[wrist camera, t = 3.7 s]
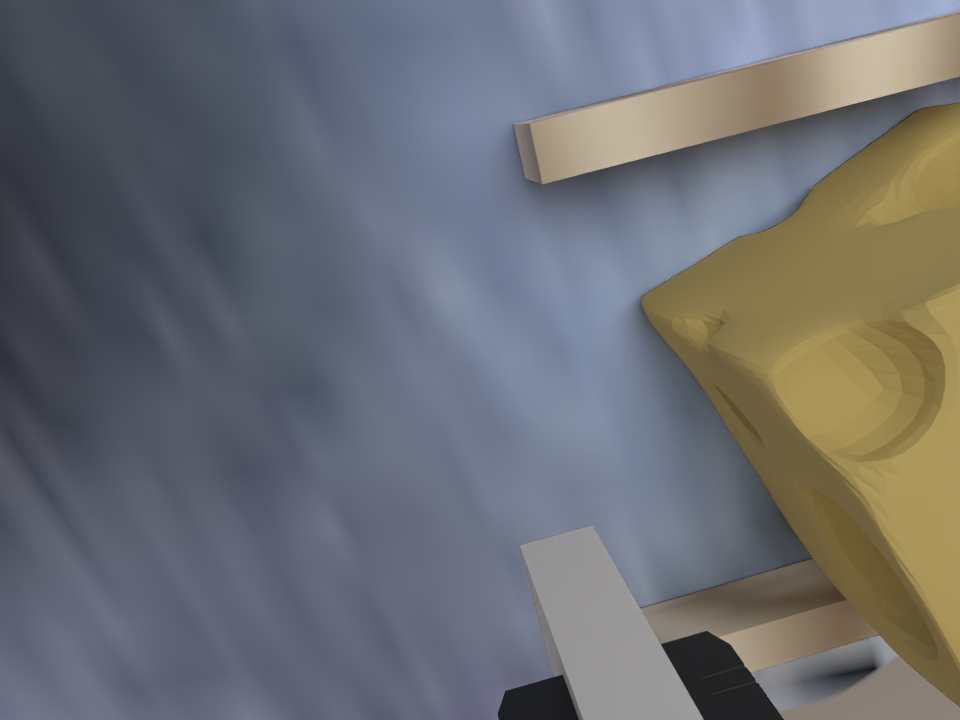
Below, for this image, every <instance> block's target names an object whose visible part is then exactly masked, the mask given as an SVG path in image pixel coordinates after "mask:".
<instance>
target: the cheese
mask: <svg viewBox="0 0 960 720" xmlns="http://www.w3.org/2000/svg"><path fill="white" fill-rule="evenodd" d="M641 304H642V307H643V309H644V311H645V313H646V315H647V317H648V318H649V320H650V322H651V323H652V325H653V326H654V328H655V329H656V330H657V332H658V333H659V334H660V336H661V337H662V338H663V339H664V340H665V341H666V342H667V344H668V345H669V346H670V347H671V348H672V349H673V350H674V351H675V353H676V354H677V355H678V356H679V357H680V359H681V360H682V361H683V362H684V364H685V365H686V366H687V368H688V369H689V370H690V371H691V373H692V374H693V376H694V377H695V378H696V380H697V381H698V383H699V384H700V386H701V387H702V388H703V390H704V391H705V393H706V394H707V396H708V397H709V399H710V400H711V402H712V404H713V405H714V407H715V408H716V410H717V412H718V413H719V415H720V416H721V418H722V419H723V421H724V423H725V424H726V426H727V427H728V429H729V430H730V432H731V433H732V435H733V437H734V438H735V440H736V441H737V443H738V444H739V446H740V447H741V449H742V450H743V452H744V454H745V455H746V457H747V458H748V460H749V461H750V463H751V464H752V466H753V468H754V469H755V471H756V472H757V474H758V475H759V477H760V478H761V480H762V482H763V483H764V485H765V486H766V488H767V490H768V491H769V493H770V495H771V496H772V498H773V499H774V501H775V503H776V504H777V506H778V508H779V509H780V511H781V512H782V514H783V516H784V517H785V519H786V521H787V522H788V524H789V525H790V527H791V528H792V530H793V531H794V533H795V534H796V535H797V537H798V538H799V539H800V541H801V542H802V544H803V545H804V547H805V548H806V549H807V551H808V552H809V554H810V555H811V556H812V558H813V559H814V560H815V562H816V563H817V565H818V566H819V567H820V568H821V570H822V571H823V572H824V574H825V575H826V576H827V577H828V578H829V580H830V581H831V582H832V583H833V584H834V586H835V587H836V588H837V589H838V590H839V591H840V593H841V594H842V595H843V596H844V597H845V598H846V599H847V600H848V601H849V602H850V604H851V605H852V606H853V607H854V608H855V609H856V610H857V611H858V612H859V614H860V615H861V616H862V617H863V618H864V619H865V620H866V621H867V622H868V623H869V624H870V626H871V627H872V628H873V629H874V630H875V631H876V632H877V633H878V634H879V635H880V636H881V637H882V638H883V639H884V641H885V642H886V643H887V644H888V645H889V646H890V647H891V648H892V649H893V650H894V651H895V652H896V653H897V654H898V655H899V656H900V657H902V658H903V659H904V660H905V661H906V662H907V663H908V664H909V665H910V666H911V667H912V668H913V669H915V670H916V671H917V672H918V673H919V674H920V675H922V676H923V677H924V678H925V679H926V680H927V681H928V682H930V683H931V684H932V685H933V686H935V687H936V688H937V689H938V690H939V691H941V692H942V693H943V694H944V695H945V696H947V697H948V698H949V699H950V700H951V701H953V702H954V703H955V704H956V705H958V706H959V707H960V102H959V103H953V104H946V105H939V106H932V107H925V108H922V109H920V110H918V111H916V112H915V113H913V114H912V115H911V116H909V117H908V118H906V119H905V120H904V121H902V122H901V123H899V124H898V125H896V126H895V127H894V128H892V129H891V130H889V131H888V132H887V133H885V134H884V135H882V136H881V137H880V138H878V139H877V140H875V141H874V142H873V143H871V144H870V145H868V146H867V147H866V148H864V149H863V150H862V151H860V152H859V153H857V154H856V155H855V156H853V157H852V158H851V159H849V160H848V161H847V162H845V163H844V164H842V165H841V166H840V167H838V168H837V169H836V170H834V171H833V172H832V173H830V174H829V175H828V176H827V177H826V178H824V179H823V180H822V181H821V182H819V183H818V184H817V185H815V186H814V187H813V188H812V189H811V191H810V192H809V193H808V195H807V196H806V197H805V199H804V200H803V202H802V203H801V205H800V207H799V209H798V210H797V211H796V212H795V213H794V214H793V215H792V216H790V217H789V218H787V219H785V220H784V221H782V222H781V223H779V224H777V225H776V226H774V227H772V228H770V229H767V230H765V231H763V232H760V233H756V234H751V235H744V236H740V237H738V238H736V239H734V240H733V241H731V242H729V243H728V244H726V245H724V246H723V247H721V248H719V249H718V250H716V251H715V252H713V253H712V254H710V255H709V256H707V257H706V258H704V259H703V260H701V261H699V262H698V263H696V264H695V265H693V266H691V267H689V268H688V269H686V270H684V271H682V272H681V273H679V274H677V275H675V276H674V277H672V278H670V279H669V280H667V281H666V282H664V283H662V284H661V285H659V286H658V287H656V288H654V289H653V290H651V291H650V292H648V293H647V294H645V295H644V296H643V297H642V298H641Z"/></svg>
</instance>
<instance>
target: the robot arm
mask: <svg viewBox="0 0 960 720" xmlns="http://www.w3.org/2000/svg"><path fill="white" fill-rule="evenodd" d="M520 548H521V552H522V556H523V560H524V564H525V568H526V572H527V576H528V580H529V584H530V588H531V592H532V596H533V600H534V603H535V607H536V611H537V615H538V619H539V623H540V627H541V631H542V635H543V639H544V643H545V647H546V651H547V655H548V658H549V662H550V665H551V668H552V671H553V674H554V677H553V678H549V679H546V680H542V681H539V682H535V683H532V684H528V685H525V686H521V687H518V688H514V689H511V690H508V691H505V694H504V697H503V700H502V703H501V706H500V709H499V712H498V717H499V720H784V719H783V718H782V717H781V715H780V714H779V712H778V711H777V709H776V708H775V707H774V705H773V704H772V702H771V701H770V700H769V698H768V697H767V695H766V694H765V692H764V691H763V690H762V688H761V687H760V685H759V684H758V683H756V681H755V678H754V677H753V676H752V674H751V673H750V671H749V670H748V669H747V667H746V668H745V665H744V663H743V661H742V660H741V659H740V657H739V656H738V654H737V653H736V652H735V650H734V649H733V647H732V646H731V645H730V644H729V643H727V642H725V641H724V640H722V639H720V638H718V637H717V636H715V635H713V634H711V633H710V632H708V631H704V632H701V633H697V634H694V635H690V636H687V637H683V638H680V639H676V640H673V641H670V642H666V643H663V644H660V642H659V641H658V639H657V637H656V635H655V634H654V632H653V630H652V628H651V627H650V625H649V623H648V621H647V620H646V618H645V616H644V614H643V613H642V611H641V609H640V607H639V606H638V604H637V602H636V600H635V599H634V597H633V595H632V593H631V592H630V590H629V588H628V586H627V585H626V583H625V581H624V579H623V578H622V576H621V574H620V572H619V571H618V569H617V567H616V565H615V564H614V562H613V560H612V558H611V557H610V555H609V553H608V551H607V550H606V548H605V546H604V544H603V543H602V541H601V539H600V537H599V536H598V534H597V532H596V530H595V529H594V527H593V525H591V526H588V527H584V528H581V529H577V530H573V531H570V532H566V533H563V534H559V535H555V536H552V537H548V538H545V539H541V540H538V541H534V542H530V543H527V544H523V545H520Z"/></svg>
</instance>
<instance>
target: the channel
mask: <svg viewBox="0 0 960 720" xmlns="http://www.w3.org/2000/svg"><path fill="white" fill-rule="evenodd" d="M956 77H960V11H957V12H953V13H949V14H945V15H942V16H938V17H934V18H930V19H926V20H922V21H918V22H914V23H910V24H906V25H902V26H898V27H894V28H890V29H886V30H882V31H878V32H875V33H871V34H867V35H863V36H859V37H855V38H851V39H847V40H843V41H839V42H835V43H831V44H827V45H823V46H819V47H815V48H811V49H808V50H804V51H800V52H796V53H792V54H788V55H784V56H780V57H776V58H772V59H768V60H764V61H760V62H756V63H752V64H748V65H744V66H740V67H737V68H733V69H729V70H725V71H721V72H717V73H713V74H709V75H705V76H701V77H697V78H693V79H689V80H685V81H681V82H677V83H673V84H670V85H666V86H662V87H658V88H654V89H650V90H646V91H642V92H638V93H634V94H630V95H626V96H622V97H618V98H614V99H610V100H606V101H603V102H599V103H595V104H591V105H587V106H583V107H579V108H575V109H571V110H567V111H563V112H559V113H555V114H551V115H547V116H543V117H539V118H535V119H532V120H528V121H524V122H520V123H516V124H513V126H514V130H515V135H516V139H517V144H518V148H519V152H520V157H521V161H522V166H523V170H524V175H525V179H528V180H531V181H534V182H537V183H540V184H546V183H550V182H553V181H557V180H561V179H565V178H569V177H573V176H577V175H581V174H584V173H588V172H592V171H596V170H600V169H604V168H608V167H612V166H615V165H619V164H623V163H627V162H631V161H635V160H639V159H643V158H646V157H650V156H654V155H658V154H662V153H666V152H670V151H674V150H677V149H681V148H685V147H689V146H693V145H697V144H701V143H705V142H708V141H712V140H716V139H720V138H724V137H728V136H732V135H736V134H739V133H743V132H747V131H751V130H755V129H759V128H763V127H767V126H770V125H774V124H778V123H782V122H786V121H790V120H794V119H797V118H801V117H805V116H809V115H813V114H817V113H821V112H825V111H828V110H832V109H836V108H840V107H844V106H848V105H852V104H856V103H859V102H863V101H867V100H871V99H875V98H879V97H883V96H887V95H890V94H894V93H898V92H902V91H906V90H910V89H914V88H918V87H921V86H925V85H929V84H933V83H937V82H941V81H945V80H949V79H952V78H956ZM640 609H641V611H642V613H643V614H644V616H645V618H646V620H647V621H648V623H649V625H650V627H651V628H652V630H653V632H654V634H655V635H656V637H657V639H658V641H659V642H660V644H663V643H666V642H670V641H673V640H676V639H680V638H683V637H687V636H690V635H694V634H697V633H701V632H704V631H708V632H710V633H711V634H713V635H715V636H717V637H718V638H720V639H722V640H724V641H725V642H727V643H729V644H730V645H731V646H732V647H733V649H734V650H735V652H736V653H737V654H738V656H739V657H740V659H741V660H742V661H743V663H744V665H745V668H746V667H747V669H748V670H749V671H750V673H752V672H755V671H759V670H762V669H765V668H769V667H772V666H776V665H779V664H782V663H786V662H789V661H792V660H796V659H799V658H803V657H806V656H809V655H813V654H816V653H820V652H823V651H826V650H830V649H833V648H837V647H840V646H843V645H847V644H850V643H853V642H857V641H860V640H864V639H867V638H870V637H874V636H877V635H879V634H878V633H877V632H876V631H875V630H874V629H873V628H872V627H871V626H870V624H869V623H868V622H867V621H866V620H865V619H864V618H863V617H862V616H861V615H860V614H859V612H858V611H857V610H856V609H855V608H854V607H853V606H852V605H851V604H850V602H849V601H848V600H847V599H846V598H845V597H844V596H843V595H842V594H841V593H840V591H839V590H838V589H837V588H836V587H835V586H834V584H833V583H832V582H831V581H830V580H829V578H828V577H827V576H826V575H825V574H824V572H823V571H822V570H821V568H820V567H819V566H818V565H817V563H816V562H815V560H814V559H810V560H806V561H803V562H799V563H796V564H792V565H789V566H785V567H782V568H779V569H775V570H772V571H768V572H765V573H761V574H758V575H754V576H751V577H747V578H744V579H740V580H737V581H733V582H730V583H727V584H723V585H720V586H716V587H713V588H709V589H706V590H702V591H699V592H695V593H692V594H688V595H685V596H681V597H678V598H675V599H671V600H668V601H664V602H661V603H657V604H654V605H650V606H647V607H643V608H640Z"/></svg>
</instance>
